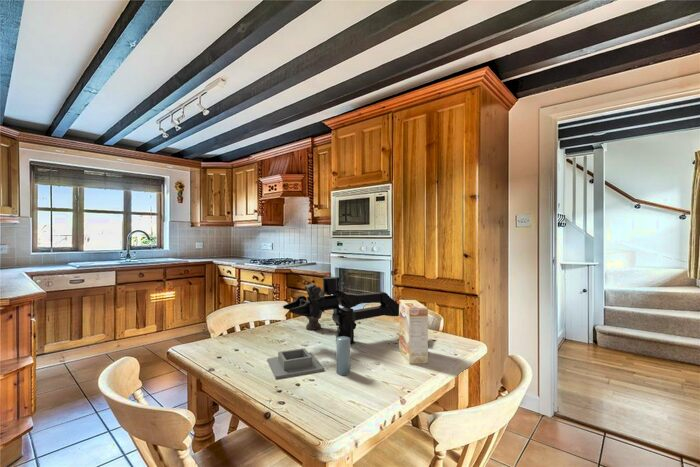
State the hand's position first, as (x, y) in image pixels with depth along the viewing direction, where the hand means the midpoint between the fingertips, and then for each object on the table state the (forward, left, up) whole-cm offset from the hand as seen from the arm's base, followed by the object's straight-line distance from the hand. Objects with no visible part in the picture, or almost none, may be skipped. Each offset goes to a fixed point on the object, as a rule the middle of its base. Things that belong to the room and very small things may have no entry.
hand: (286, 309), depth 124 cm
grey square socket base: (0, +14, -16) cm, 22 cm away
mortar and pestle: (-20, -26, -17) cm, 37 cm away
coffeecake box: (-42, +22, -17) cm, 51 cm away
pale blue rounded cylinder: (-13, +26, -16) cm, 33 cm away
